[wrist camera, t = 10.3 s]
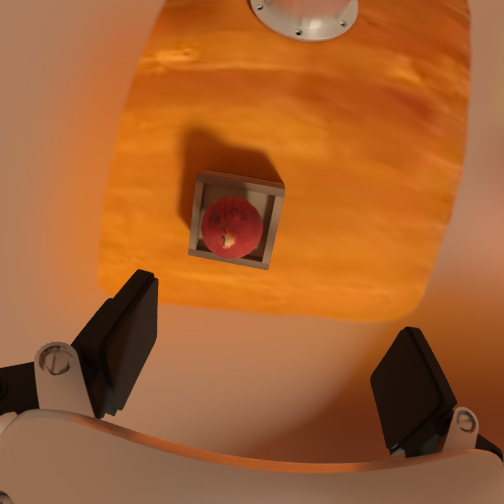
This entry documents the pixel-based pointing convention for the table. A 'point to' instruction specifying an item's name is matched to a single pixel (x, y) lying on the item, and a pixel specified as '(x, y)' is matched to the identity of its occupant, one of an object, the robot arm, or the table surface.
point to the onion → (231, 227)
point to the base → (247, 188)
